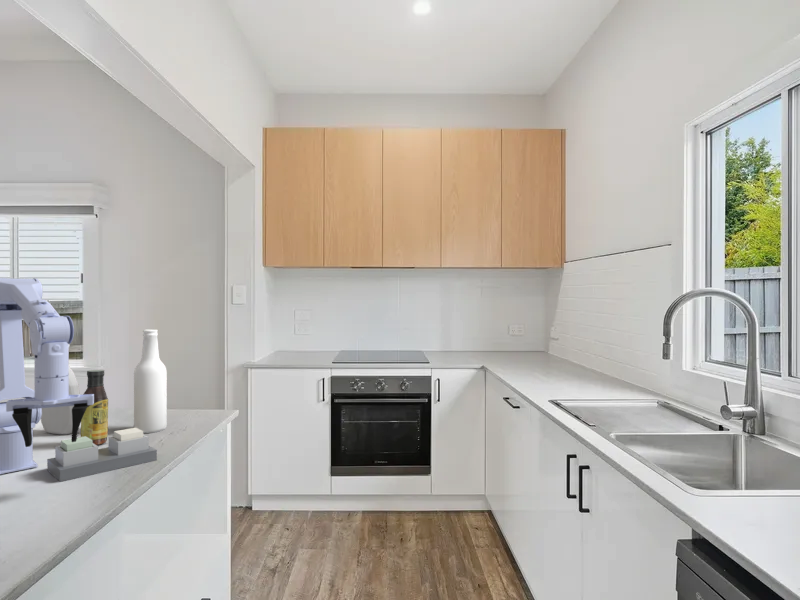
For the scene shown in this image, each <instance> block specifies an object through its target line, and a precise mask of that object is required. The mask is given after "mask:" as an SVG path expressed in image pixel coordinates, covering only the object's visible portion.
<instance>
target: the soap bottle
mask: <svg viewBox="0 0 800 600" xmlns="http://www.w3.org/2000/svg"><path fill="white" fill-rule="evenodd" d="M70 345H71V344H69V348H70V347H71V346H70ZM79 386H80V384H79V382H78V379H77V376H76V374H75V372H74V370H72V368H71V367H70V366H69V395H81V394H80V387H79ZM59 404H63V403H59ZM73 407H74V406H63V407H50V408H42V416H41V419H40V422H41V425H42V428H43V430H44V432H46V433H49V434H52V435H72V408H73Z"/></svg>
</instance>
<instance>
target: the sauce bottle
mask: <svg viewBox="0 0 800 600" xmlns="http://www.w3.org/2000/svg"><path fill="white" fill-rule="evenodd" d="M86 376H87V384H86V385H87V386H86V387H87V388H86V389H85V391H84V392H83V394H82V395H85V394H94V404H93V405H88V407H87V409H86V411H85V413H84V415H83V417H82V420H81V423H80V437H85V436H86V437H88V438H90V439H91V440H93V443H94V444H95V445H97V446H101V445H104V444H105V443H106V442H107V440H108V429H109V428H108V427H109V422H108V421H109V399H108V396H107V392H106V389H105V386H104V377H105V370H104V369H89V370H87V371H86Z"/></svg>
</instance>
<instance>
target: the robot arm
mask: <svg viewBox="0 0 800 600" xmlns="http://www.w3.org/2000/svg"><path fill="white" fill-rule="evenodd" d="M43 292H44V291H43V285H42V282H41V281H40V280H39V279H38V278H37V277H36V278H35V277H34V278H15V277H13V278H12V277H9V278H8V277H0V475H3V474H8V473H13V472H17V471H25V470H28V469H34V468H37V467H38V466H39V464H38V463H37V462H36V461H35V460H34V459H33V458H34V453H33V448H34V446H33V445H34V444H33V442H34V441H33V440H34V439H33V437H34V434H33V433H34V431H33V429H34V428H36V425H38V423H40V422H41V416H42V408H50V407H63V406H74V407H73V408H72V433H71V439H72V442H76V440H77V438H78V432H79V428H80V427H81V420H82V417H83V415H84V413H85V411H86V409H87V407H88V405H93V404H94V394H85V395H83V394H80V395H69V367H70V365H69V364H70V363H69V356H70V354H69V352H70V350H69V349H70V347H69V345H71V343H72V342H73V340H74V337H75V336H74V335H75V327H74V325H75V324H74V321H73V319H72V318H71V316H70V315H60V314H59V312H58V311H57V310H56V309H55V308H54V307H53V305H52V304H51V303H50V302H49V301H47V300H46V299H43V295H44V294H43ZM23 321H24V323H25V324H26V325H27V327H28V328H29V340H30V344H31V354H32V355H34V389H33V388H31V387H29V386H27V385H26V373H25V371H26V369H25V356H24V339H23V338H24V337H23ZM5 400H7V401H5ZM2 401H3V402H2ZM59 403H63V404H59Z"/></svg>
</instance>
